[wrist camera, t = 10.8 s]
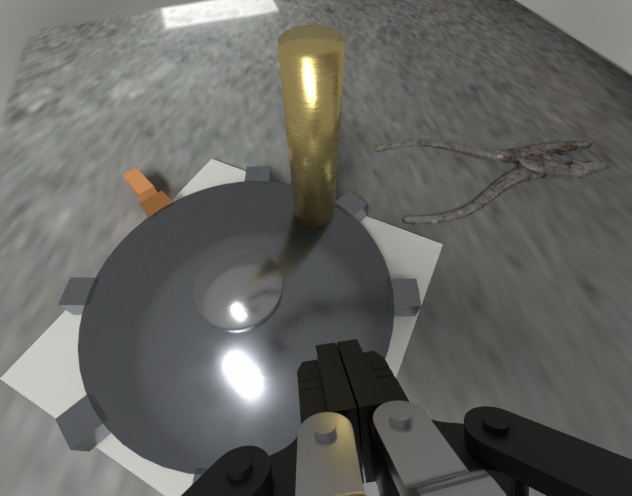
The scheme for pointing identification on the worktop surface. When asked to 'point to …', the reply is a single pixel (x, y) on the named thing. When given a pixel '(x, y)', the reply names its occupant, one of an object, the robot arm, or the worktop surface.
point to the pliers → (531, 166)
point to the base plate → (62, 336)
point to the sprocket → (234, 293)
